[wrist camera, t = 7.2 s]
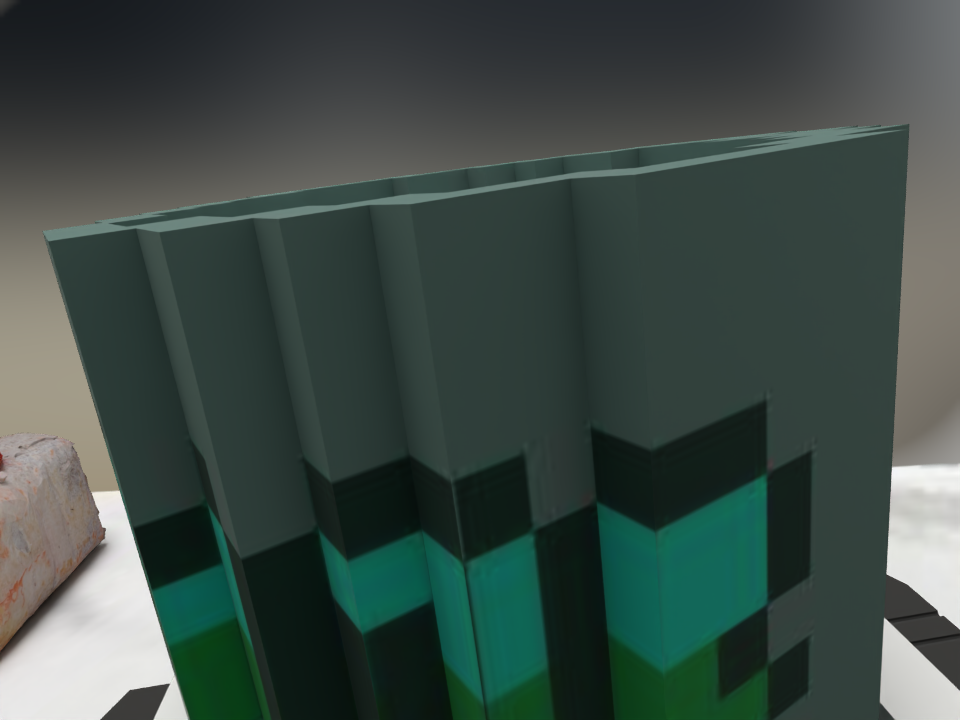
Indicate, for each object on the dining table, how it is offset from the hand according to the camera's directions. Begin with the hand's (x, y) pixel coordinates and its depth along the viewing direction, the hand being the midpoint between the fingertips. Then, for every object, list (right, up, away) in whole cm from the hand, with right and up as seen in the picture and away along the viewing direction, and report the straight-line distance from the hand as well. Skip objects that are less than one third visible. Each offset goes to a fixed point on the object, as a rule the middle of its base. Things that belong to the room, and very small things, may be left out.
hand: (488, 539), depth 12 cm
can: (+2, -10, -2) cm, 10 cm away
